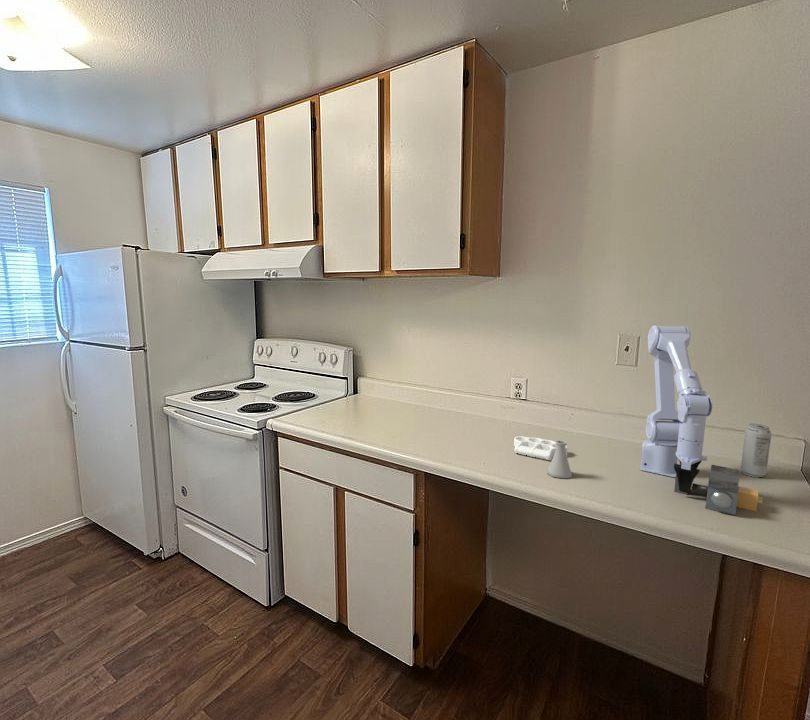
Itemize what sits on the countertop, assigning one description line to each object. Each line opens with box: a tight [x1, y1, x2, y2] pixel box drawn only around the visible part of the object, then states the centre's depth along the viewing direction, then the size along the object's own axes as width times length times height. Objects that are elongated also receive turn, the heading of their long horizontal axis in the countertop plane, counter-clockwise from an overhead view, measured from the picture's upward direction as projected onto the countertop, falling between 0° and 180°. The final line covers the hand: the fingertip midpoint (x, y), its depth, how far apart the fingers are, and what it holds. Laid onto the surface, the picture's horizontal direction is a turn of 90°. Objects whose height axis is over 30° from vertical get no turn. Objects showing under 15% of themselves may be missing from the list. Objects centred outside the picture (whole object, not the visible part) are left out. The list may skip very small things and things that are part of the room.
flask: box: [546, 439, 573, 479], centre depth 130 cm, size 7×7×10 cm
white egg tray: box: [513, 435, 568, 461], centre depth 150 cm, size 3×18×15 cm
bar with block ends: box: [673, 474, 763, 512], centre depth 115 cm, size 18×4×5 cm, turn 53°
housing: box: [705, 464, 740, 516], centre depth 114 cm, size 6×17×6 cm, turn 143°
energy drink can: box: [740, 423, 772, 478], centre depth 131 cm, size 6×6×15 cm
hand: (685, 487), depth 120 cm, fingers open, 7 cm apart
